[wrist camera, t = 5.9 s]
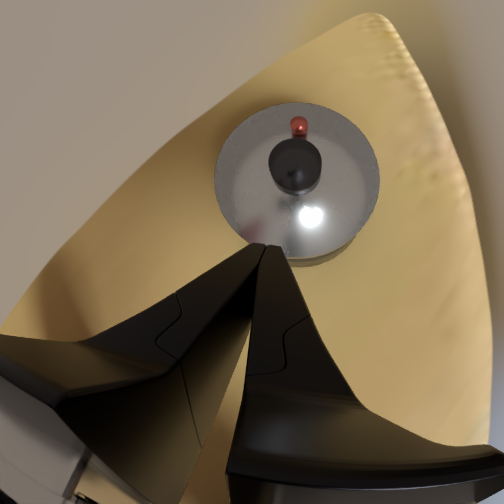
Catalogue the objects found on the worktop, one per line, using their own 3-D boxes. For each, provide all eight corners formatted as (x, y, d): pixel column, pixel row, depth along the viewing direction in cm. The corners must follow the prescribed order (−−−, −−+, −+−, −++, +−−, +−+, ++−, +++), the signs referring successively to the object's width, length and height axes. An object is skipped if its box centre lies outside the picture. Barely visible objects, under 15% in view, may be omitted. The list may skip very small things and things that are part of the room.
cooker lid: (373, 266, 17) (383, 262, 15) (209, 251, 19) (194, 245, 16) (374, 117, 18) (381, 95, 16) (229, 109, 20) (219, 88, 17)
